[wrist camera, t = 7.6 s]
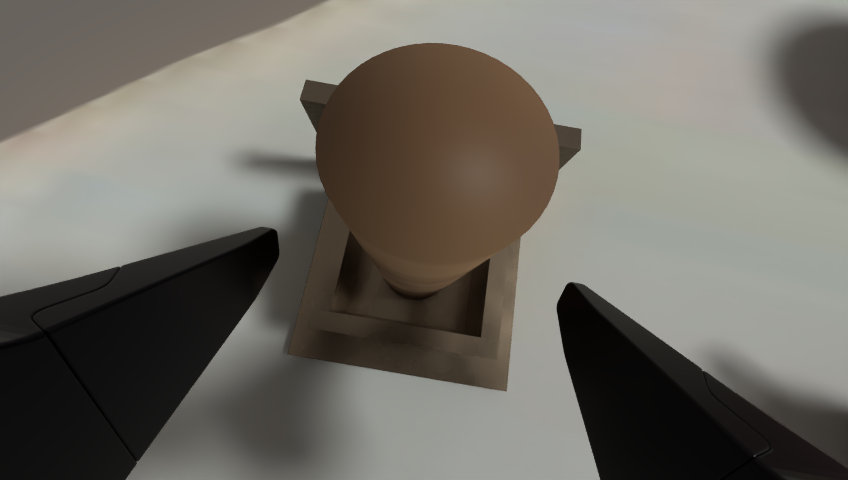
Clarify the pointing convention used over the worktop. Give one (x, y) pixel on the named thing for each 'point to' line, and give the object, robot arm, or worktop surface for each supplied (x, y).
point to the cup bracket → (407, 302)
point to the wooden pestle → (435, 161)
